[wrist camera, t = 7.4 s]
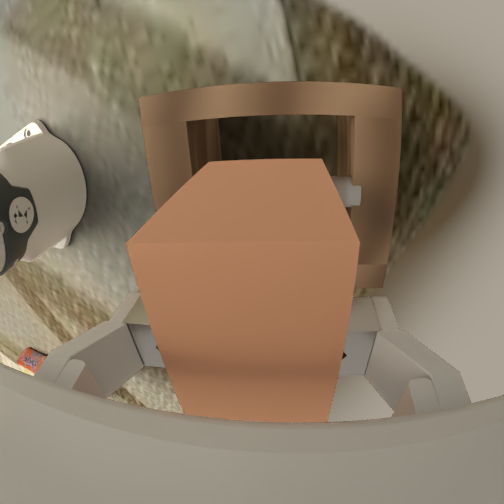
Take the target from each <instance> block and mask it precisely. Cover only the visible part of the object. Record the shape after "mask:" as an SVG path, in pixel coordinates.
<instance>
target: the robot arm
mask: <svg viewBox="0 0 504 504" xmlns="http://www.w3.org/2000/svg"><path fill="white" fill-rule="evenodd" d="M30 132H31V134H30ZM85 206H86V183H85V178H84V174H83V171H82V168H81V166H80V164H79V161H78V159H77V158H76V156H75V154H74V153H73V152H72V150H71V149H70V148H69V147H68V146H67V145H66V144H65V143H64V142H63V141H61V140H60V139H58V138H56V137H55V136H53V135H51V134H50V133H49V132H48V130H47V129H46V127H45V126H44V125H43V123H42V122H41V121H39V120H35V121H33V122H31V123H29V124H28V125H27V126H25V127H24V128H23V129H21V130H20V131H19V132H17V133H16V134H15V135H13V136H12V137H11V138H10V139H8V140H7V141H6V142H5V143H3V144H2V145H1V146H0V276H1V275H3V274H4V273H5V272H7V271H9V270H10V269H12V268H13V267H14V266H15V265H16V264H17V262H19V261H20V260H22V261H28V262H32V261H34V260H35V259H36V258H38V257H39V256H41V255H42V254H43V253H45V252H46V251H48V250H49V249H50V248H52V247H55V248H60V249H63V248H65V247H66V246H68V244H69V242H70V238H71V232H72V230H73V229H74V228H75V226H76V225H77V224H78V223H79V221H80V220H81V218H82V216H83V213H84V210H85ZM144 365H145V366H154V367H163V368H165V365H164V363H163V360H162V357H161V355H160V352H159V349H158V346H157V344H156V341H155V338H154V335H153V332H152V329H151V327H150V324H149V321H148V318H147V315H146V311H145V308H144V305H143V302H142V299H141V296H140V292H129V293H128V294H127V295H126V297H125V298H124V300H123V301H122V302H121V304H120V305H119V307H118V308H117V310H116V311H115V313H114V314H113V316H112V317H111V319H110V320H109V321H104V322H102V323H100V324H99V325H97V326H95V327H93V328H91V329H90V330H88V331H86V332H84V333H83V334H81V335H79V336H77V337H75V338H74V339H72V340H70V341H68V342H67V343H65V344H63V345H61V346H60V347H58V348H56V349H54V350H52V351H51V352H50V353H49V354H48V356H47V357H46V359H45V360H44V362H43V363H42V364H41V366H40V367H39V369H38V370H37V372H36V373H35V375H34V376H32V375H29V374H26V373H24V372H21V371H19V370H16V369H14V368H11V367H9V366H6V365H4V364H2V363H0V504H504V395H501V396H498V397H494V398H491V399H487V400H483V401H479V402H475V403H471V400H470V398H469V395H468V392H467V390H466V387H465V385H464V382H463V379H462V377H461V375H460V372H459V371H458V370H457V369H455V368H454V367H452V366H451V365H450V364H449V363H447V362H446V361H445V360H444V359H442V358H441V357H439V356H438V355H437V354H436V353H434V352H433V351H431V350H430V349H429V348H428V347H426V346H425V345H423V344H422V343H421V342H419V341H418V340H417V339H415V338H414V337H413V336H411V335H410V334H409V333H407V332H406V331H405V330H399V327H398V324H397V322H396V319H395V316H394V313H393V311H392V308H391V306H390V303H389V301H388V298H387V297H386V296H385V295H382V296H370V297H353V300H352V306H351V313H350V318H349V324H348V330H347V335H346V341H345V346H344V351H343V356H342V361H341V366H340V371H339V375H338V376H359V375H365V378H366V379H367V380H368V381H369V383H370V384H371V385H372V386H373V387H374V388H375V390H376V391H377V392H378V393H379V394H380V395H381V397H382V398H383V399H384V400H385V401H386V402H387V404H388V405H389V406H390V407H391V408H392V409H393V411H394V413H393V415H392V417H391V418H382V419H371V420H359V421H343V422H311V423H291V422H260V421H244V420H231V419H221V418H211V417H203V416H195V415H188V414H181V413H174V412H168V411H162V410H157V409H151V408H146V407H141V406H136V405H132V404H127V403H123V402H118V401H114V400H110V399H107V398H108V397H109V396H110V395H111V394H112V393H114V392H115V391H116V390H117V389H118V388H119V387H121V386H122V385H123V384H124V383H125V382H127V381H128V380H129V379H130V378H131V377H132V376H134V375H135V374H136V373H137V372H138V371H140V370H141V369H142V368H143V367H144Z"/></svg>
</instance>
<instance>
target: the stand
mask: <svg viewBox="0 0 504 504" xmlns="http://www.w3.org/2000/svg"><path fill="white" fill-rule="evenodd" d="M139 103H140V112H141V121H142V129H143V137H144V144H145V151H146V158H147V165H148V171H149V177H150V184H151V190H152V195H153V201H154V207H155V212H157V211H158V210H159V209H160V208H161V207H162V206H163V205H164V204H165V203H166V202H167V201H168V200H169V199H170V198H171V197H172V196H173V195H174V194H175V193H176V192H177V191H178V190H179V189H180V188H181V187H182V186H183V185H184V184H185V183H186V182H188V181H189V180H190V179H191V178H192V177H193V176H194V175H195V174H196V173H197V172H198V171H199V170H200V169H202V168H203V167H204V166H205V165H206V164H207V163H208V162H213V161H222V155H221V144H220V132H219V120H218V118H224V117H238V116H256V115H294V114H309V115H337V176H330V177H331V179H332V181H333V183H334V185H335V187H336V189H337V191H338V194H339V196H340V198H341V200H342V202H343V204H344V207H345V209H346V211H347V213H348V216H349V218H350V220H351V222H352V225H353V227H354V229H355V232H356V234H357V237H358V239H359V241H360V247H359V256H358V264H357V272H356V279H355V286H354V288H382V287H383V284H384V279H385V274H386V268H387V263H388V257H389V251H390V244H391V238H392V231H393V224H394V216H395V208H396V199H397V190H398V179H399V167H400V152H401V130H402V88H398V87H389V86H380V85H370V84H358V83H341V82H310V81H291V82H259V83H243V84H230V85H220V86H210V87H202V88H194V89H186V90H180V91H173V92H167V93H161V94H156V95H150V96H145V97H140V98H139Z"/></svg>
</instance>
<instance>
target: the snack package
mask: <svg viewBox="0 0 504 504" xmlns="http://www.w3.org/2000/svg"><path fill="white" fill-rule="evenodd" d="M46 357H47V356H45V355H43V354H41V353H38V352H37V351H34V350H33V349H31V348H26V349H25V350H24V351H23V353H22V354H21V355H20V357H19V359H18V361H17V364H18V367H19V369H20V370H21V372H24V373H26V374H29V375H32V376H34V375H35V373H36V372H37V370H38V369H39V367H40V366H41V364H42V363H43V362H44V360H45V359H46Z"/></svg>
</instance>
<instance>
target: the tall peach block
mask: <svg viewBox="0 0 504 504" xmlns="http://www.w3.org/2000/svg"><path fill="white" fill-rule="evenodd" d="M126 246H127V250H128V254H129V258H130V261H131V265H132V268H133V272H134V276H135V279H136V282H137V286H138V289H139V292H140V296H141V299H142V302H143V305H144V308H145V311H146V315H147V318H148V321H149V324H150V327H151V329H152V332H153V335H154V338H155V341H156V344H157V346H158V349H159V352H160V355H161V357H162V360H163V363H164V365H165V368H166V370H167V373H168V376H169V378H170V381H171V383H172V386H173V388H174V390H175V393H176V395H177V398H178V400H179V402H180V405H181V407H182V409H183V412H184V414H189V415H196V416H204V417H213V418H223V419H234V420H247V421H264V422H327V421H328V417H329V413H330V409H331V405H332V401H333V397H334V393H335V388H336V384H337V379H338V375H339V371H340V366H341V361H342V356H343V351H344V346H345V341H346V335H347V330H348V324H349V318H350V313H351V306H352V300H353V293H354V286H355V279H356V272H357V264H358V256H359V247H360V241H359V239H358V237H357V234H356V232H355V229H354V227H353V225H352V222H351V220H350V218H349V216H348V213H347V211H346V209H345V207H344V204H343V202H342V200H341V198H340V196H339V194H338V191H337V189H336V187H335V185H334V183H333V181H332V179H331V177H330V175H329V172H328V170H327V168H326V166H325V164H324V162H323V160H322V159H255V160H231V161H213V162H208V163H207V164H206V165H205V166H204V167H203V168H202V169H200V170H199V171H198V172H197V173H196V174H195V175H194V176H193V177H192V178H191V179H190V180H189V181H188V182H186V183H185V184H184V185H183V186H182V187H181V188H180V189H179V190H178V191H177V192H176V193H175V194H174V195H173V196H172V197H171V198H170V199H169V200H168V201H167V202H166V203H165V204H164V205H163V206H162V207H161V208H160V209H159V210H158V211H157V212H156V213H155V214H154V215H153V216H152V217H151V218H150V219H149V220H148V221H147V222H146V223H145V224H144V225H143V226H142V227H141V228H140V229H139V230H138V231H137V232H136V233H135V234H134V235H133V236H132V237H131V239H130V240H129V241H128V242H127V243H126Z"/></svg>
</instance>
